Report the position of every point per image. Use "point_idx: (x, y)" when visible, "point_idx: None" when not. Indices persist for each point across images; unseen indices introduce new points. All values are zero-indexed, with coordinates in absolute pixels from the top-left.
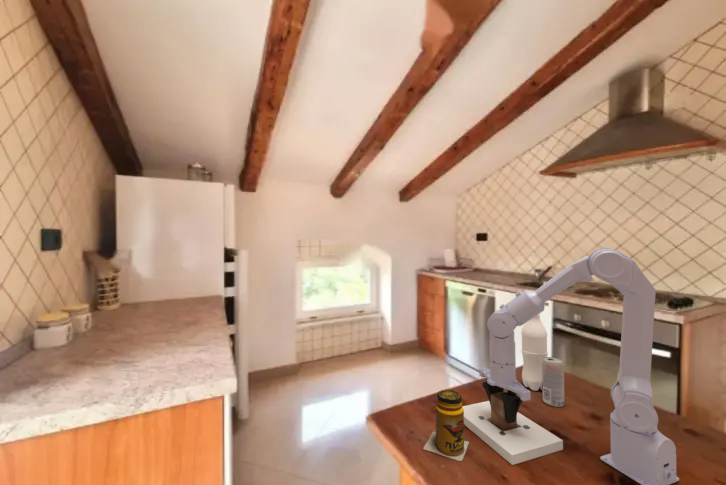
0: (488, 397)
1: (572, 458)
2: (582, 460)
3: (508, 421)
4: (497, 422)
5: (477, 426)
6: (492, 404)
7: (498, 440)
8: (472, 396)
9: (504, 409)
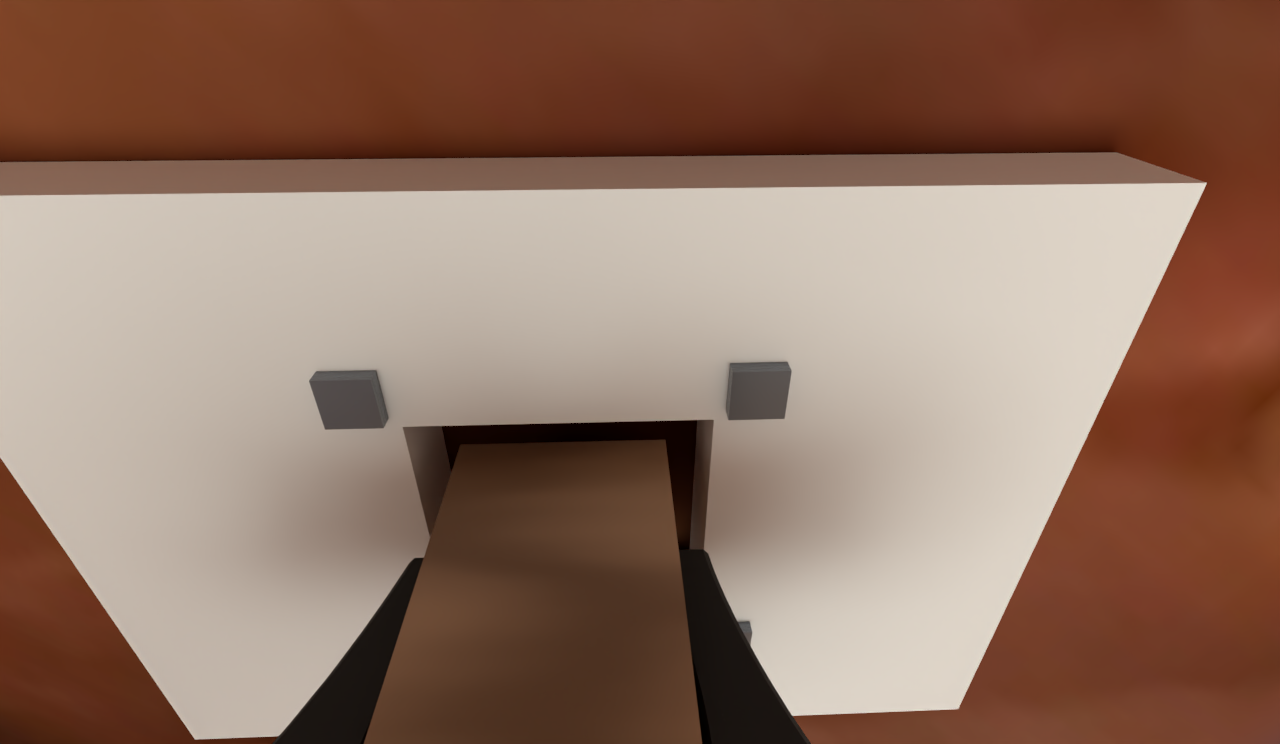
0: (787, 733)
1: (125, 654)
2: (103, 684)
3: (398, 583)
4: (552, 482)
5: (603, 203)
6: (651, 658)
7: (207, 258)
8: (1201, 573)
9: (371, 717)
